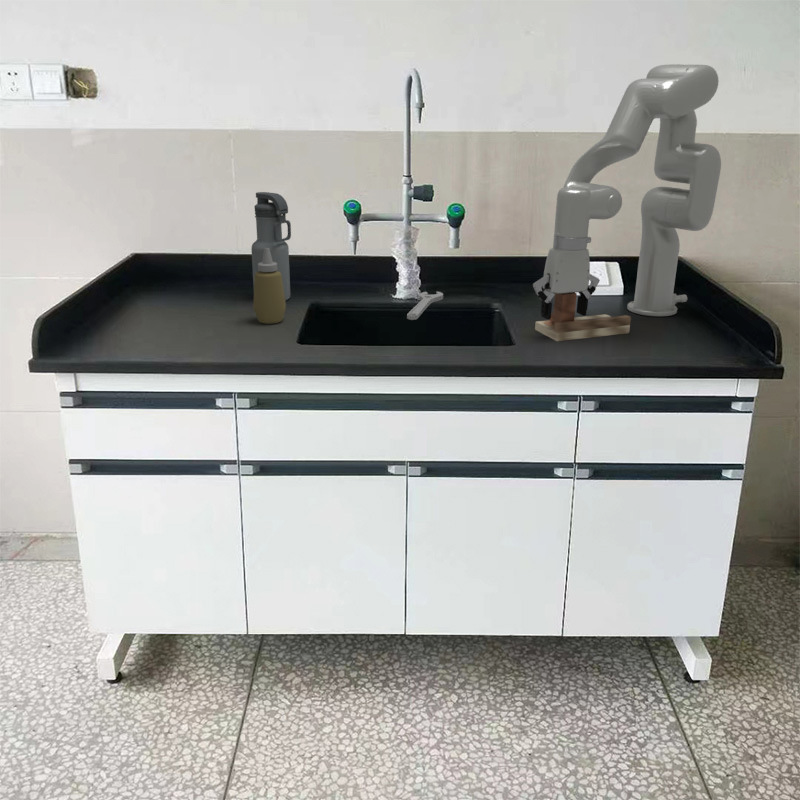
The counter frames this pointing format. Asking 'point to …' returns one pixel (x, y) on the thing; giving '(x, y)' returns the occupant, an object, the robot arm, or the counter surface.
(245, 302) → the counter surface
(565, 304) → the brown wooden block
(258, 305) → the squeeze bottle
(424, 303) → the adjustable wrench
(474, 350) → the counter surface
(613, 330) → the board
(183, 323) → the counter surface
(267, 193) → the water bottle
